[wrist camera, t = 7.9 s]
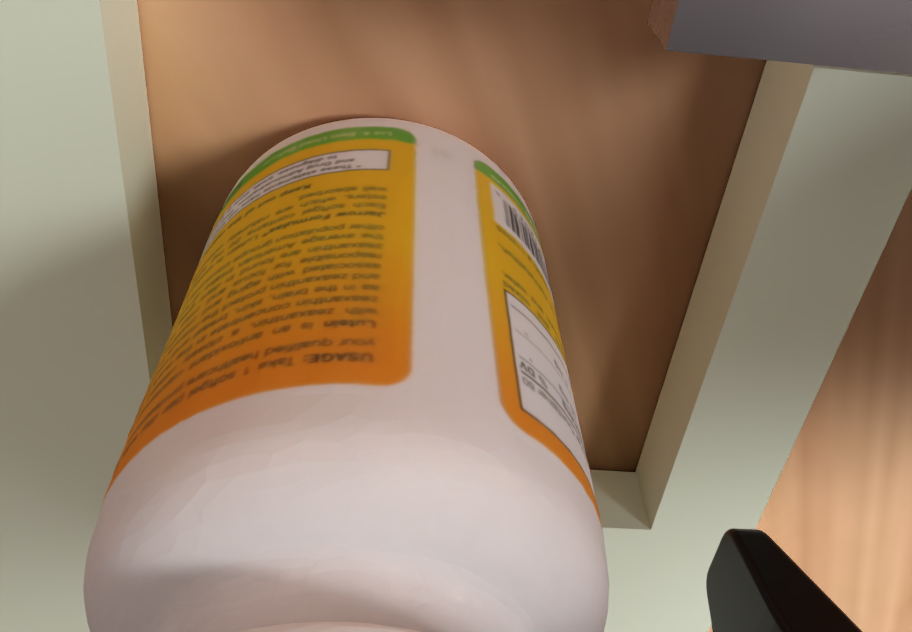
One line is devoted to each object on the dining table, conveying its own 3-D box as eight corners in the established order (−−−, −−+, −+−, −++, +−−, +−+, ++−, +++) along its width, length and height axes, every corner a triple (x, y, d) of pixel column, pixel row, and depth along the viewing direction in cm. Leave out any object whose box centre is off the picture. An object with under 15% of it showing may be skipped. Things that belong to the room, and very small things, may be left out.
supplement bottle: (179, 325, 15) (-92, 1009, 7) (276, 48, 12) (8, 669, 4) (456, 417, 17) (483, 1071, 9) (600, 188, 14) (833, 843, 6)
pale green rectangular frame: (908, 44, 12) (960, 81, 11) (632, 713, 23) (644, 771, 22) (-261, -73, 11) (-345, -44, 10) (10, 694, 22) (-15, 754, 20)
